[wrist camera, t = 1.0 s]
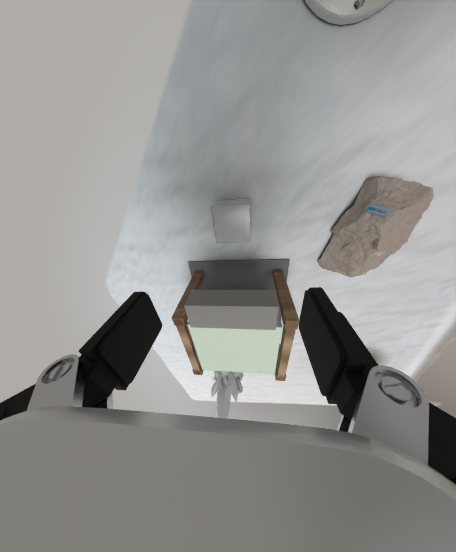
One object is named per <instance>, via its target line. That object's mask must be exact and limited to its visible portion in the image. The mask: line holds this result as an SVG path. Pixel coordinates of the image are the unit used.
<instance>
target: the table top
mask: <svg viewBox="0 0 456 552" xmlns="http://www.w3.org/2000/svg"><path fill="white" fill-rule="evenodd" d="M188 263H189V267H190V271H191V275H192V277H193V275H194V273H195V271H204V276H205V278H204V280H203V283H202V285H201V288H200V290H275V293H276V289H275V285H274V280H273V269H282V271H283V274H284V277H285V280H286V281H287V274H288V267H289V259H263V260H222V261H189V262H188ZM276 297H277V293H276ZM277 302H278V298H277ZM278 306H279V302H278ZM277 321H280V322H281V311H280V307H279V308H278V316H277Z"/></svg>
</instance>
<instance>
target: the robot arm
mask: <svg viewBox="0 0 456 552" xmlns="http://www.w3.org/2000/svg"><path fill="white" fill-rule="evenodd" d="M391 1H392V0H305V2H306V3H307V5H308V6H309V8H310V9H311V10H312V11H313V12H314V13H315V14H316V15H317V16H318V17H320V18H321V19H323V20H325V21H327V22H328V23H333V24H338V25H345V24H352V23H356V22H359V21H361V20H364V19H366V18H369V17H371V16H372V15H374V14H375V13H377V12H378V11H380V10H381V9H383V8H384V7H386V6H387V5H388V4H389V3H390V2H391ZM354 5H356V6H357V9H355V7H354ZM161 328H162V323H161V321H160V318H159V316H158V314H157V312H156V310H155V308H154V306H153V303H152V301H151V299H150V297H149V295H148V294H146V293H145V292H134V293H133V294H132V295H131V296H130V297H129V298H128V299H127V300H126V301H125V302H124V303H123V304H122V305H121V306H120V308H119V309H118V310H117V311H116V312H115V313H114V314H113V315H112V316H111V317H110V318H109V319H108V320H107V321H106V322H105V323H104V324H103V326H102V327H101V328H100V329H99V330H98V331H97V332H96V333H95V334H94V335H93V336H92V337H91V338H90V339H89V340H88V341H87V342H86V344H85V345H84V346H83V347H82V348H81V349H80V350H79V352H80V353H81V354H82V355H81V356H80V357H78V356H76V355H67V356H65V357H62V358H60V359H58V360H56V361H55V362H54V363H52V364H51V365H49V366H48V367H47V368H46V369H45V370H44V371H43V372H42V373H41V375H40V376H39V378H38V380H37V382H36V384H35V385H33V386H31V387H29V388H27V389H25V390H24V391H22V392H20V393H18V394H16V395H14V396H12V397H11V398H9V399H7V400H5V401H4V402H1V403H0V552H456V418H454V417H453V416H451V415H449V414H448V413H446V412H444V411H442V410H441V409H439V408H437V407H436V406H434V405H433V404H431V403H429V402H428V398H427V396H426V394H425V393H424V391H423V390H422V389H421V387H420V386H419V385H418V384H417V383H416V382H415V381H414V380H413V379H411V378H410V377H409V376H407V375H406V374H404V373H402V372H401V371H399V370H397V369H394V368H392V367H388V366H383V365H382V366H378V364H377V363H376V361H375V360H374V358H373V357H372V355H371V354H370V353H369V351H368V350H367V348H366V347H365V345H364V344H363V342H362V341H361V339H360V338H359V337H358V335H357V334H356V332H355V331H354V329H353V328H352V326H351V325H350V324H349V322H348V321H347V319H346V318H345V316H344V315H343V314H342V313H341V312H338V311H337V310H336V308H335V307H334V305H333V304H332V302H331V301H330V299H329V298H328V296H327V295H326V293H325V292H324V290H323V289H322V288H321V287H319V288H309V289H308V290H306V291H305V294H304V299H303V305H302V310H301V315H300V321H299V330H300V333H301V336H302V339H303V342H304V345H305V348H306V351H307V354H308V357H309V359H310V362H311V365H312V368H313V371H314V374H315V377H316V380H317V383H318V386H319V389H320V392H321V394H322V395H323V396H326V398H327V401H328V404H337V406H338V408H339V411H340V413H341V414H342V417H341V420H340V423H339V426H338V429H337V430H331V429H325V428H316V427H307V426H298V425H289V424H280V423H268V422H258V421H247V420H235V419H224V418H213V417H201V416H190V415H178V414H177V415H176V414H166V413H154V412H142V411H130V410H129V411H128V410H117V409H113V400H112V391H113V390H114V388H116V390H117V389H118V390H126V389H127V387H128V385H129V384H130V383H131V382H132V381H133V380H134V378H135V376H136V374H137V372H138V370H139V368H140V367H141V365H142V363H143V361H144V360H145V358H146V356H147V354H148V352H149V350H150V349H151V347H152V345H153V343H154V341H155V339H156V338H157V336H158V334H159V332H160V330H161Z"/></svg>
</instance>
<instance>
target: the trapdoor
mask: <svg viewBox="0 0 456 552" xmlns="http://www.w3.org/2000/svg"><path fill="white" fill-rule="evenodd" d="M184 307H185V310H186V313H187V316H188V319H189V322H188V324H187V325H188V328H189V331H190V334H191V337H192V340H193V343H194V346H195V349H196V352H197V355H198V358H199V361H200V364H201V367H202V370H215V371H230V372H244V373H259V374H274V375H275V370H276V363H277V357H278V350H279V344H280V338H281V331H282V325H281V322H280V321H277V316H278V308H279V306H278V302H277V297H276V293H275V290H191V292H190V294H189V296H188V298H187V300H186V303H185V305H184Z"/></svg>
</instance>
